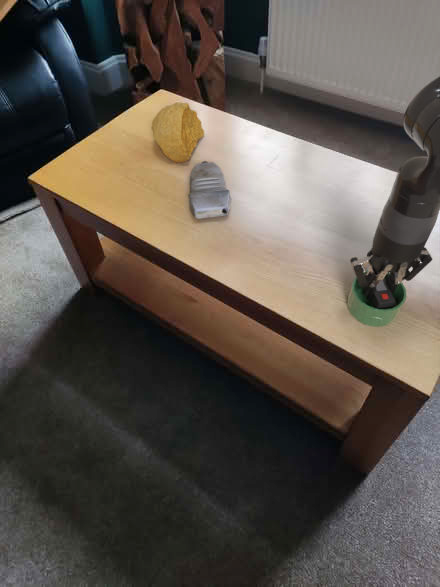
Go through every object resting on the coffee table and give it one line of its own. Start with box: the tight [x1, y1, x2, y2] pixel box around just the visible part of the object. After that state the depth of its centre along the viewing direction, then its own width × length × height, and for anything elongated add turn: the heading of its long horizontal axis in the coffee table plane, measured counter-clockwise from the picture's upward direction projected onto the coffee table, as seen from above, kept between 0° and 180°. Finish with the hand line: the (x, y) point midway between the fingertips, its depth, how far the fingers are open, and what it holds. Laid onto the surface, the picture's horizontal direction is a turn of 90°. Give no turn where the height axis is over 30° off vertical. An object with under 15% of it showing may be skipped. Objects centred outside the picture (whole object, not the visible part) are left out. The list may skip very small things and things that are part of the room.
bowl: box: [346, 270, 407, 328], centre depth 79 cm, size 9×9×5 cm
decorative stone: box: [151, 102, 205, 163], centre depth 112 cm, size 13×15×15 cm
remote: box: [365, 273, 396, 309], centre depth 78 cm, size 7×3×3 cm, turn 8°
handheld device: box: [188, 160, 232, 220], centre depth 101 cm, size 10×20×5 cm, turn 6°
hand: (377, 293), depth 79 cm, fingers closed on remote, 3 cm apart
